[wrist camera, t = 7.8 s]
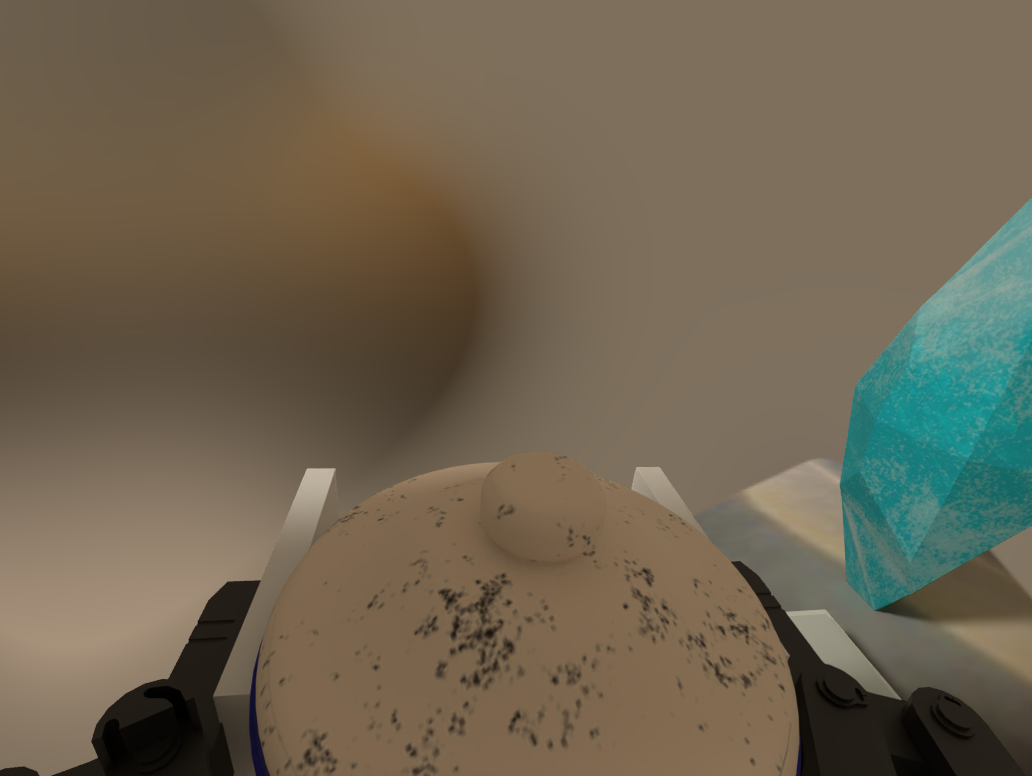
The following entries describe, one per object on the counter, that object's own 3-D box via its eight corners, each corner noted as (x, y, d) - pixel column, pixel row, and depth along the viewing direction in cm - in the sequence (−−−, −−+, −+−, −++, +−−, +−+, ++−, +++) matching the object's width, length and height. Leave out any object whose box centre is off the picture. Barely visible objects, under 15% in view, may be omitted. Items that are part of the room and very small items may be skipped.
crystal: (1006, 612, 38) (1298, 181, 25) (936, 705, 30) (1301, 161, 18) (839, 518, 47) (996, 165, 34) (754, 573, 39) (914, 147, 27)
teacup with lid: (771, 1030, 11) (1069, 642, 6) (304, 1370, 7) (90, 1128, 2) (540, 596, 21) (579, 322, 16) (299, 657, 17) (255, 335, 13)
